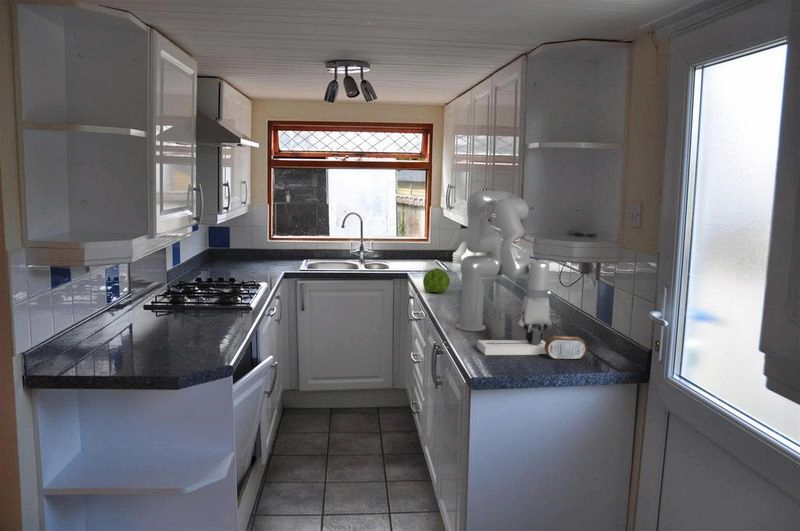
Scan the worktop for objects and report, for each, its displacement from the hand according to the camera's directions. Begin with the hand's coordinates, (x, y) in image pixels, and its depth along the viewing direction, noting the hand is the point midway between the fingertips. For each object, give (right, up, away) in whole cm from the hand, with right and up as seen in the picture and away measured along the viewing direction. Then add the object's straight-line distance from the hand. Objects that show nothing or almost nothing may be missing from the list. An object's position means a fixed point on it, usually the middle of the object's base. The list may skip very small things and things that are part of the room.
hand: (533, 341), depth 245 cm
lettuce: (-29, +14, +126) cm, 131 cm away
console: (-7, -4, -1) cm, 8 cm away
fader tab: (0, 0, 0) cm, 0 cm away
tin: (+10, -6, -9) cm, 14 cm away
